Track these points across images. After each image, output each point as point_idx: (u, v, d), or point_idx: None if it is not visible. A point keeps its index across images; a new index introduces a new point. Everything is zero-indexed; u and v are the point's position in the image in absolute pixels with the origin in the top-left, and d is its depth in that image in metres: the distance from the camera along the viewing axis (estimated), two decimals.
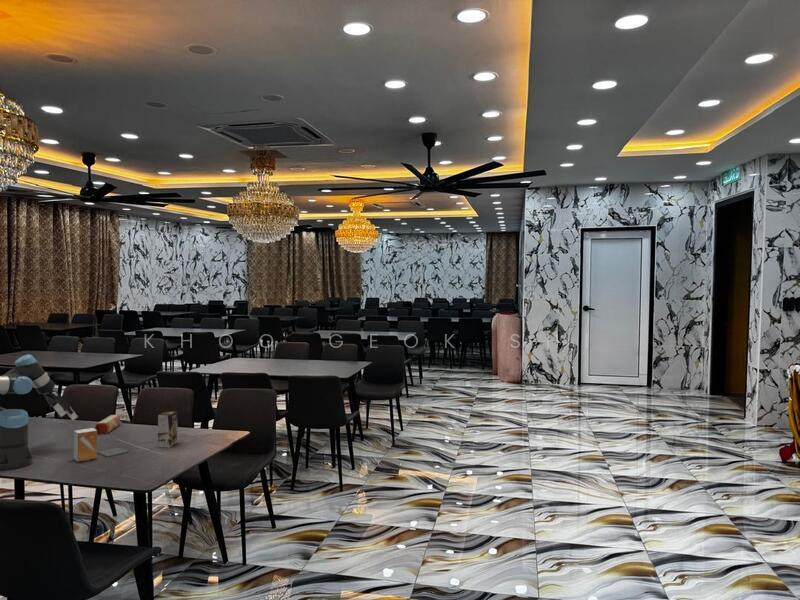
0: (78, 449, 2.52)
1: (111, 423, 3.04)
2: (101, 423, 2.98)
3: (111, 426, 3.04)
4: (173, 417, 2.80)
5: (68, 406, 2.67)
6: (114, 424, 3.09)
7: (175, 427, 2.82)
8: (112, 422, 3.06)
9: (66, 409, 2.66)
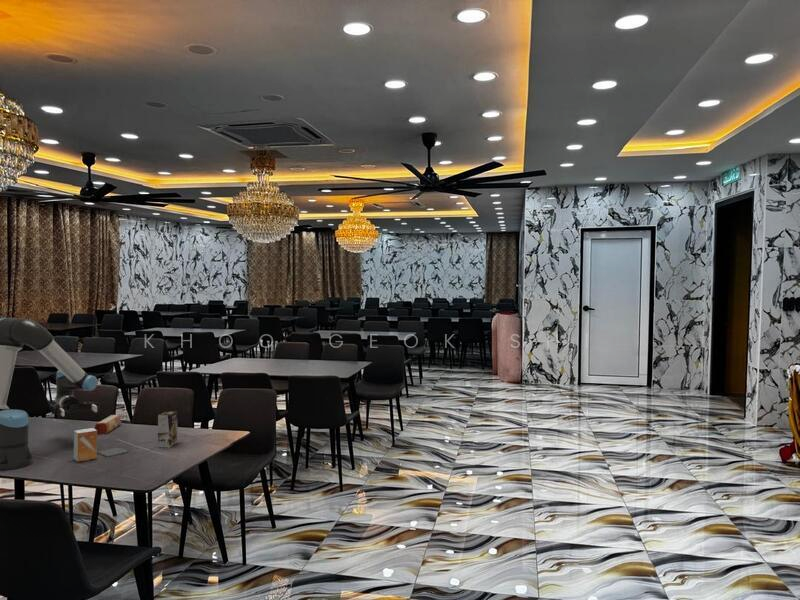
0: (78, 449, 2.52)
1: (111, 423, 3.04)
2: (101, 423, 2.98)
3: (111, 426, 3.04)
4: (173, 417, 2.80)
5: None
6: (114, 424, 3.09)
7: (175, 427, 2.82)
8: (112, 422, 3.06)
9: (98, 403, 2.75)
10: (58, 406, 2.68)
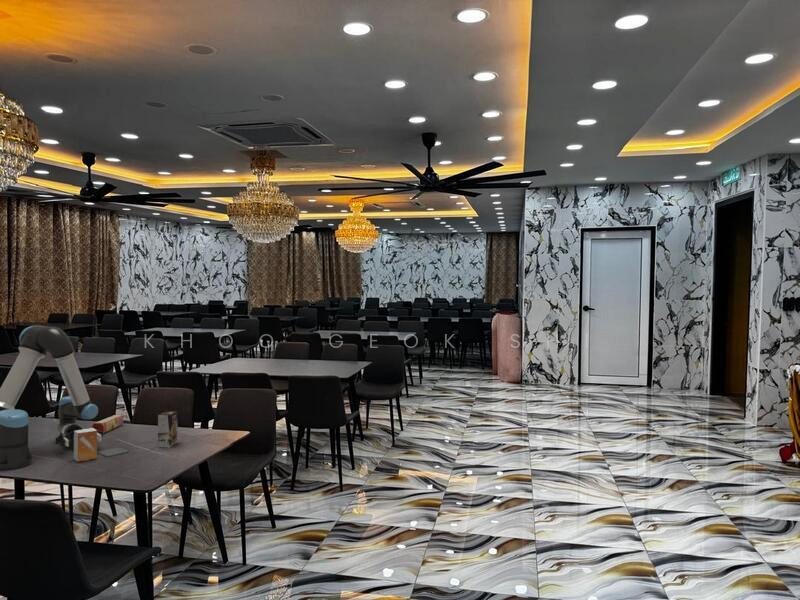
0: (78, 449, 2.52)
1: (109, 423, 3.04)
2: (97, 423, 2.98)
3: (109, 426, 3.03)
4: (173, 417, 2.80)
5: None
6: (113, 424, 3.08)
7: (175, 427, 2.82)
8: (111, 422, 3.06)
9: (102, 431, 2.73)
10: (62, 435, 2.66)
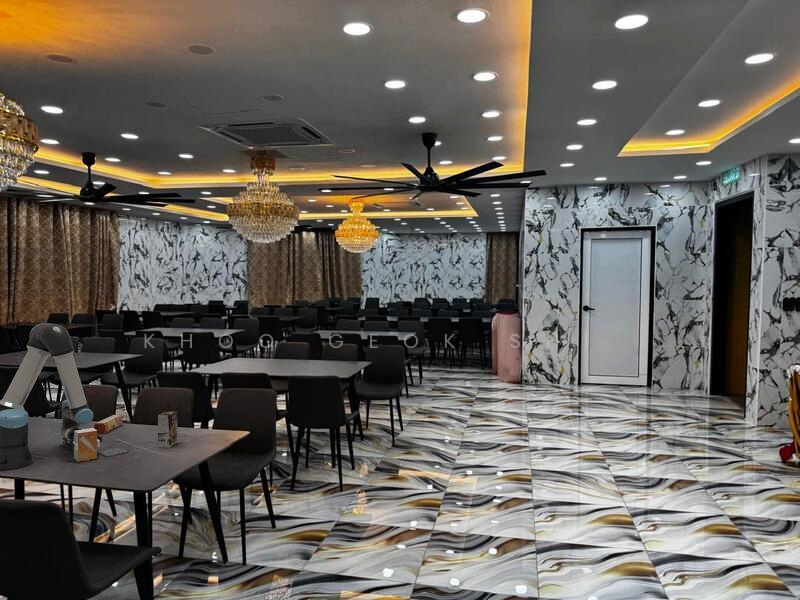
0: (78, 449, 2.52)
1: (110, 423, 3.04)
2: (99, 423, 2.98)
3: (110, 426, 3.04)
4: (173, 417, 2.80)
5: (101, 439, 2.64)
6: (114, 424, 3.08)
7: (175, 427, 2.82)
8: (112, 422, 3.06)
9: (101, 437, 2.63)
10: (67, 439, 2.59)
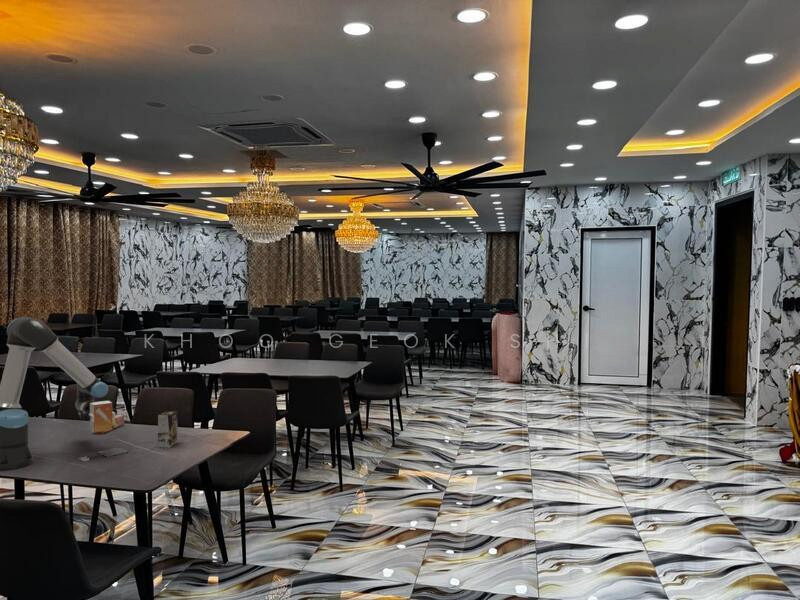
0: (94, 420, 2.57)
1: None
2: None
3: None
4: (173, 417, 2.80)
5: (116, 412, 2.69)
6: (114, 424, 3.08)
7: (175, 427, 2.82)
8: None
9: (116, 410, 2.68)
10: (83, 412, 2.64)
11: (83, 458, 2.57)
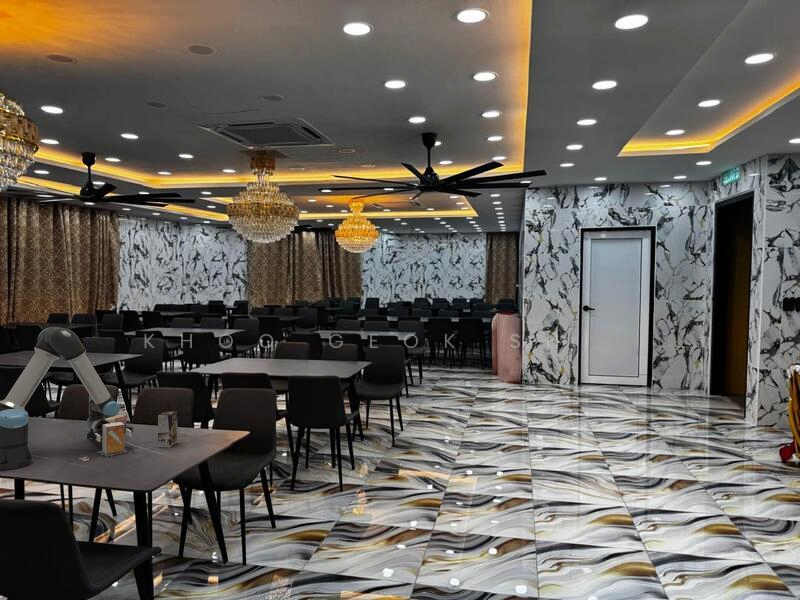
0: (107, 442, 2.62)
1: None
2: None
3: None
4: (173, 417, 2.80)
5: (132, 430, 2.76)
6: None
7: (175, 427, 2.82)
8: None
9: (132, 427, 2.76)
10: (92, 431, 2.69)
11: (83, 458, 2.57)
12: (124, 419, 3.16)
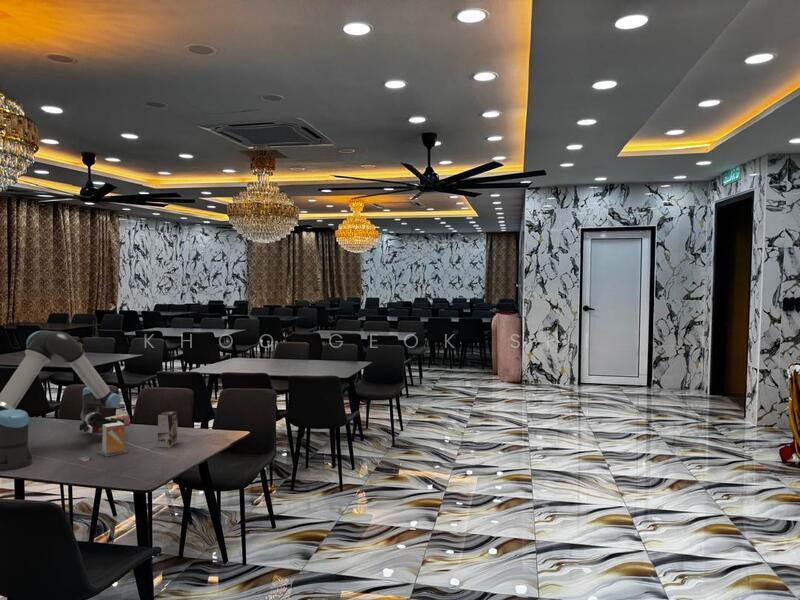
0: (107, 442, 2.62)
1: None
2: None
3: None
4: (173, 417, 2.80)
5: None
6: None
7: (175, 427, 2.82)
8: None
9: (123, 420, 2.85)
10: (85, 423, 2.79)
11: (83, 458, 2.57)
12: (127, 418, 3.18)
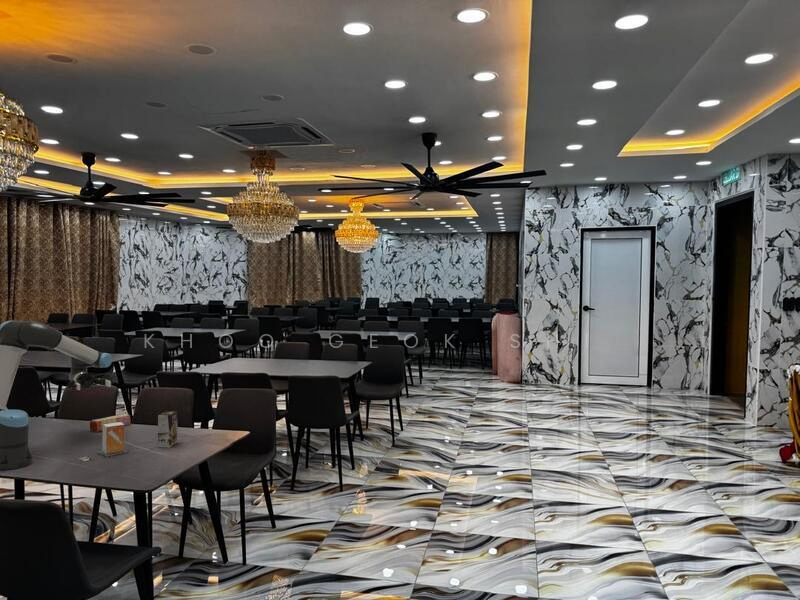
0: (107, 442, 2.62)
1: (106, 422, 3.06)
2: (93, 421, 3.02)
3: None
4: (173, 417, 2.80)
5: None
6: None
7: (175, 427, 2.82)
8: (109, 421, 3.08)
9: (111, 379, 2.87)
10: (73, 381, 2.80)
11: (83, 458, 2.57)
12: (127, 418, 3.18)
